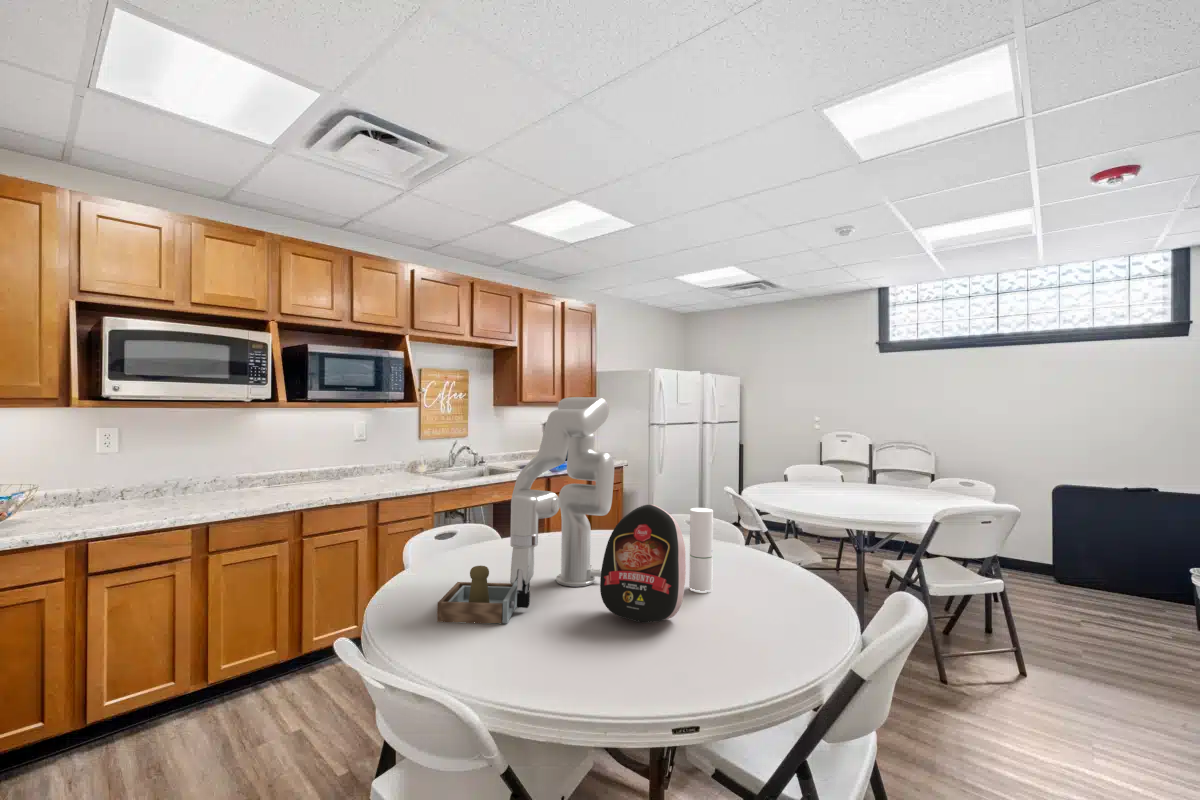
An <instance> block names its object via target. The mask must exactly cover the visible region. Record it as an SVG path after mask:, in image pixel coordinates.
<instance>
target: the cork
mask: <svg viewBox="0 0 1200 800" xmlns="http://www.w3.org/2000/svg"><path fill="white" fill-rule="evenodd" d="M489 575H490V569H489V568H488V567H487V566H485V565H475V566H473V567H471V569H470V571H469V577H470V579H471V581H470V582H471V589H470V595H469V602H476V603H490V602H489V593H488V584H487V583H488V577H489Z"/></svg>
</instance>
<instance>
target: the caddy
mask: <svg viewBox="0 0 1200 800" xmlns="http://www.w3.org/2000/svg"><path fill="white" fill-rule="evenodd" d="M471 582H472V581H470V582H469V581H457V582H456V583H455V584H454V585H453V586H452V587H451V588H450V589H449V590H448V591H447V592H446V593H445V594H444V595H443V596H442V597H441V599H439V601H437V609H436V612H437V614H436V616H437V617H436V622H437V623H452V622H466V623H465V624H484V623H502V618H503V603H476V602H448V601H449V600H450V599H451V598H452V597H453V596H454V594H455V593H456V592H457V591H458V590H459V589H460V588H461V587H462V586H471ZM487 584H488V586H497V587H512V586H513V585H512V584H511V583H509V582H505V583H504V582H503V583H501V582H487ZM474 622H475V623H474ZM502 624H503V623H502Z"/></svg>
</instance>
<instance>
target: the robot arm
mask: <svg viewBox="0 0 1200 800" xmlns="http://www.w3.org/2000/svg"><path fill="white" fill-rule="evenodd" d="M609 412H610V407H609V404H608V402H607V400H606V399H605V398H602V397H598V396H597V397H596V396H595V397H594V396H593V397H589V396H588V397H587V396H584V397H583V396H582V397H581V396H575V397H574V396H573V397H572V396H570V397H565V398H562V399H561V400H560V401H559V402H558V406H557V409H555V410H553V411H551V412H550V413H549V414H548V417H547V420H546V423H545V427H544V429H543V434H542V438H541V441H540V445H539V449H538V451H537V454H536V455H535V457H533V458H532V459H531V460H530V461H529V462H528V463H526V465H525V466H524V467H522V469H521V471H519V474H518V476H516V480H515V484H514V487H513V491H512V494H511V500H510V547H511V548H512V551H511V561H510V563H511V564H510V579H509V580H510V581H509V582H510V583H511V584H512V585H513V584H514V583H515V581H516V580H517V606H516V608H522V609H523V608H525V609H528V608H529V606H530V603H531V602H530V601H531V600H530V599H531V597H530V595H531V593H530V584H531V583H530V582H531V580H532V579H533V577H534V573H535V547H537V546H538V545H539V520H540V519H548V518H552V517H554V516H556V515H557V514H558V512H559V510H560V514H561V515H560V516H561V517H560V518H561V546H560V547H561V550H560V551H561V557H560V574H558V575H557V576H556V578H555V581H556V583H557V584H559V585H561V586H565V587H575V588H576V587H577V588H578V587H586V586H590V585H592V584H594V583H595V581H596V580H595V577H597V578H601V569H594V568H593V567H592V564H591V534H592V533H591V532H592V530H591V529H592V528H591V523H590V521H589V519H588V517H587V515H588V516H597V517H598V516H600V517H601V516H602V517H603V516H607V515H608V513H609V512H610V510H611V507H612V504H613V496H614V495H613V490H614V480H615V462H614V459H613V456H612V455H611V454H610V453H608V452H605V451H595V439H596V438H595V434H594V433H595V432H596V430H598V429H599V428H600V427H601V426H602V425H603V424H604V423H605V422H606V421H607V419H608V417H609ZM566 459H567V460H566ZM565 462H566V474H567V476H568V477H569V478H571V479H574V480H581V481H590V482H591V481H593V482H595V484H587V483H568V484H565V485H564V486H562V488H561V489H560V491H559V494H558V495H557V494H556V493H555V492H553V491H548V490H541V489H531V488H532V485H533V483H534V482H535V480H537V478H538V477H539V476H541V475H542V474H543V473H546V472H547V471H548V472H549V471H551V470H552V469H554V468H556V467H560V466H561V465H563V464H564V463H565Z"/></svg>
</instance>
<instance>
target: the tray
mask: <svg viewBox="0 0 1200 800" xmlns="http://www.w3.org/2000/svg"><path fill="white" fill-rule="evenodd" d="M470 589H471V586H462V587H461V588H460V589H459V590H458V591H457V592H456V593H455V594H454V596H453V597H452V598H451V599H450V600H449V601H448V602H469V595H470ZM488 593H489V602H490V603H503V618H502V624H508V622H509V621H510V619H511V617H512V615H513V613H514V612H515V609H516V608H517V580H516V581H515V583H514V584H513V586H512V587H497V586H488Z"/></svg>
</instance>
